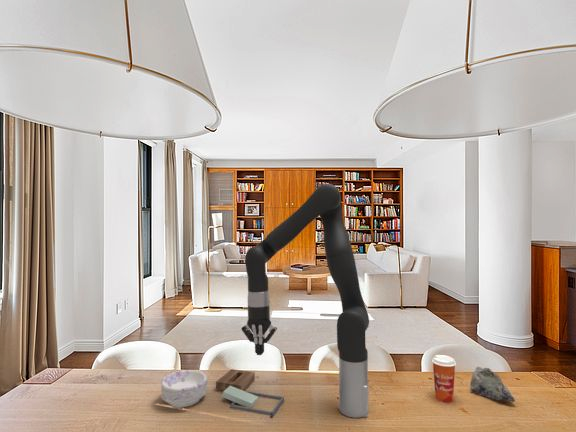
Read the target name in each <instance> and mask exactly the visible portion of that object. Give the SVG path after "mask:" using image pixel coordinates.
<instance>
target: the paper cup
mask: <svg viewBox="0 0 576 432" xmlns="http://www.w3.org/2000/svg"><path fill="white" fill-rule="evenodd" d="M431 361H432V366H433V367H432V368H433V382H434V394H435V395H434V396H435V399H436V400H437V399H438V400H437V401H438V402H441V401H442V402H441V403H445V402H450V403H452V402H453V401H454V390H455V389H454V387H455V374H456V371H455V370H456V366H457V363H456V360H455V358H453V357H451V356H449V355H444V354H443V355H442V354H435V355H434V356H433V358H432V360H431Z"/></svg>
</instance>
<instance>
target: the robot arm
mask: <svg viewBox="0 0 576 432" xmlns="http://www.w3.org/2000/svg"><path fill="white" fill-rule="evenodd" d="M318 217H320V220H321V223H322V229H323V242H324V251H325V258H326V264H327V267H328V271H329V274H330V277H331V278H332V280H333V282H334V284H335V286H336V289H337V290H338V291H337V292H338V294H339V296H340V301H341V308H342V309H341V310H342V311H341V313H340V314H339V316H338V318H337V320H336V322H337V323H336V341H337V342H336V343H337V344H336V346H337V351H338V376H339V377H338V382H339V383H338V390H339V391H338V395H339V398H338V408H339V412H340V413H341V414H342V415H344V416H346V417H349V418H355V419H356V418H367V417H368V413H369V410H370V409H369V408H370V407H369V406H370V405H369V401H370V400H369V398H370V397H369V396H370V395H369V394H370V392H369V391H370V389H369V387H370V385H369V382H370V380H369V379H368V378H369V376H368V375H369V373H368V372H369V368H368V366H369V365H368V361H369V360H368V359H369V357H368V355H369V353H368V352H369V351H368V349H367V347H366V345H367V344H366V331H367V330H368V328H369V324H370V316H369V314H368V310H367V308H366V305H365V302H364V299H363V296H362V292H361V291H362V290H361V287H360V281H359V277H358V276H359V274H358V270H357V265H356V259H355V255H354V250H353V246H352V243H351V240H350V238H349V234H348V231H347V229H346V225H345V222H344V218H343V209H342V196H341V192H340V190H339V189H338V187H336V185H334V184H331V183H324V184H323V183H322V184H320V185H319V186H318V187H317V188H316V189H315V190H314V191H313V193H311V195H309V197H308V198H307V199H306V201H305V202H303V204H302V205H300V207H299V208H297V210H296V211H294V212H293V213H292V214H291V215H289V216H288V217H287V218H286V219H284V221H282V222H281V223H280V224H278V226H276V227H275V228H273V230H271V231H270V232H269V233H268V234H267V235H266V237H264V239H263V240H262V241H260V242H259V243H258V244H257V245H254V246H253V247H250V248H249V249H248V250H247V251H246V253H245V258H244V260H245V261H244V263H245V268H246V269H245V270H246V275H247V318H248V319H247V321H246V324H245V325H243V326H242V327H241V331H242V332H243V333H244V336H245V337H246V338H247V339H248V341H249V342H250V343H254V352H255V354H256V356H262V355H263V354H264V353H265V344H267V343H268V342H269V341H270V340H271V339H272V337H273V336H274V334H275V333H276V331H278V327H276V326H273V325H272V321H271V320H270V319H271V317H270V314H271V312H270V311H271V310H270V302H271V301H270V294H269V278H268V275H267V273H266V263H268V262H269V260H271V259H272V258H273V257H274V256H275V255H276V254H278V252H279V251H281V250H283V249H284V248H285V247H287V245H289V243H291V242H292V241H293V240H294V239H295V238H297V236H299V235H300V234H301V232H302V231H303V230H305V229H306V227H307V226H308V225H310V224H311V223H312V222H313V221H315V219H317V218H318ZM267 331H268V332H269V333H267ZM266 333H267V335H266Z"/></svg>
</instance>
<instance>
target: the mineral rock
mask: <svg viewBox="0 0 576 432" xmlns="http://www.w3.org/2000/svg"><path fill="white" fill-rule="evenodd" d="M469 389H470V391H471V392H472V393H476V394H478V395H480V396H482V395H483V396H482V397H487V398H489V399H492V400H495V401H504V402H506V401H507V402H508V401H509V402H513V403H515V401H516V398H515V397H514V396H513V395H512V393H511V391H510V390H509V388H507V387H506V385H504V383H503V381H502V379H501V377H500V376H499V375H497V374H496V372H495V371H493V370H492V369H491V368H489V367H484V368H483V367H480V366H477V367H476V368H475V370H474V371H473V373H472V375H471V379H470V387H469Z"/></svg>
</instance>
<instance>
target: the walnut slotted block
mask: <svg viewBox="0 0 576 432" xmlns="http://www.w3.org/2000/svg"><path fill="white" fill-rule="evenodd" d="M255 373H256V372H255V371H247V370H241V369H234V368H231V369H229V370H228V371H227V372H226V373H224V374H223V375H222V376H221V377H220V378H218V379H217V380H215V391H217V392H222V393H223V391H224V390H226V389H227V388H228V387H229V386H232V387H235V388H237V389H240V390H243V391H247V390H248V388H250V386H251V385H252V384H253V383H255V377H256V376H255Z"/></svg>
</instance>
